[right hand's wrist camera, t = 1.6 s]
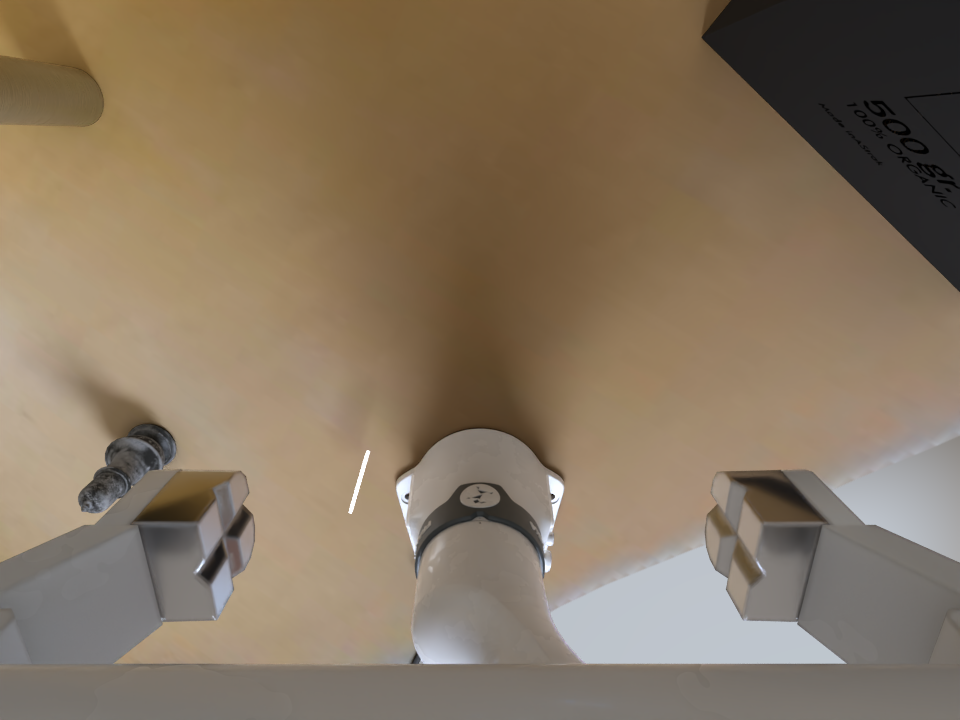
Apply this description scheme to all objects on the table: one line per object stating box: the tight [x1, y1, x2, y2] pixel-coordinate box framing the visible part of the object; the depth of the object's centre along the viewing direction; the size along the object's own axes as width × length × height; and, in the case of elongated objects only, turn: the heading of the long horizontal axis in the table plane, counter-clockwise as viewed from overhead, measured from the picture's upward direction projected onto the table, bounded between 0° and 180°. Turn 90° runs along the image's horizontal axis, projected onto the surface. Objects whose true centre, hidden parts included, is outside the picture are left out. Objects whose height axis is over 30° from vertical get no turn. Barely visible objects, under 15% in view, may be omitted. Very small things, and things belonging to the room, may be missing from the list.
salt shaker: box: [78, 424, 176, 513], centre depth 58 cm, size 6×6×12 cm
